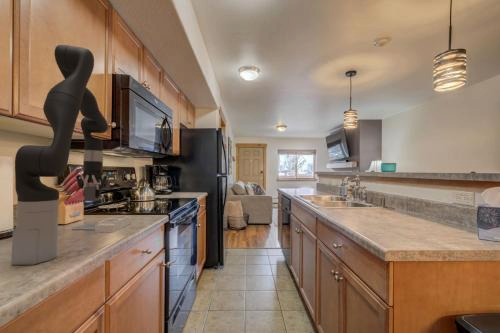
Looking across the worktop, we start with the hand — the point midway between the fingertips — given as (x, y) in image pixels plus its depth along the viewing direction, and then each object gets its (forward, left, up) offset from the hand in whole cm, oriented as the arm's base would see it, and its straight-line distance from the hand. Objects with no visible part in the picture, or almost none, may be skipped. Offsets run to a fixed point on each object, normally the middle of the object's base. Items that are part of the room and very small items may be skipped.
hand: (92, 197), depth 111 cm
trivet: (0, 0, -14) cm, 14 cm away
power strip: (0, -11, -14) cm, 17 cm away
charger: (0, 0, -1) cm, 1 cm away
